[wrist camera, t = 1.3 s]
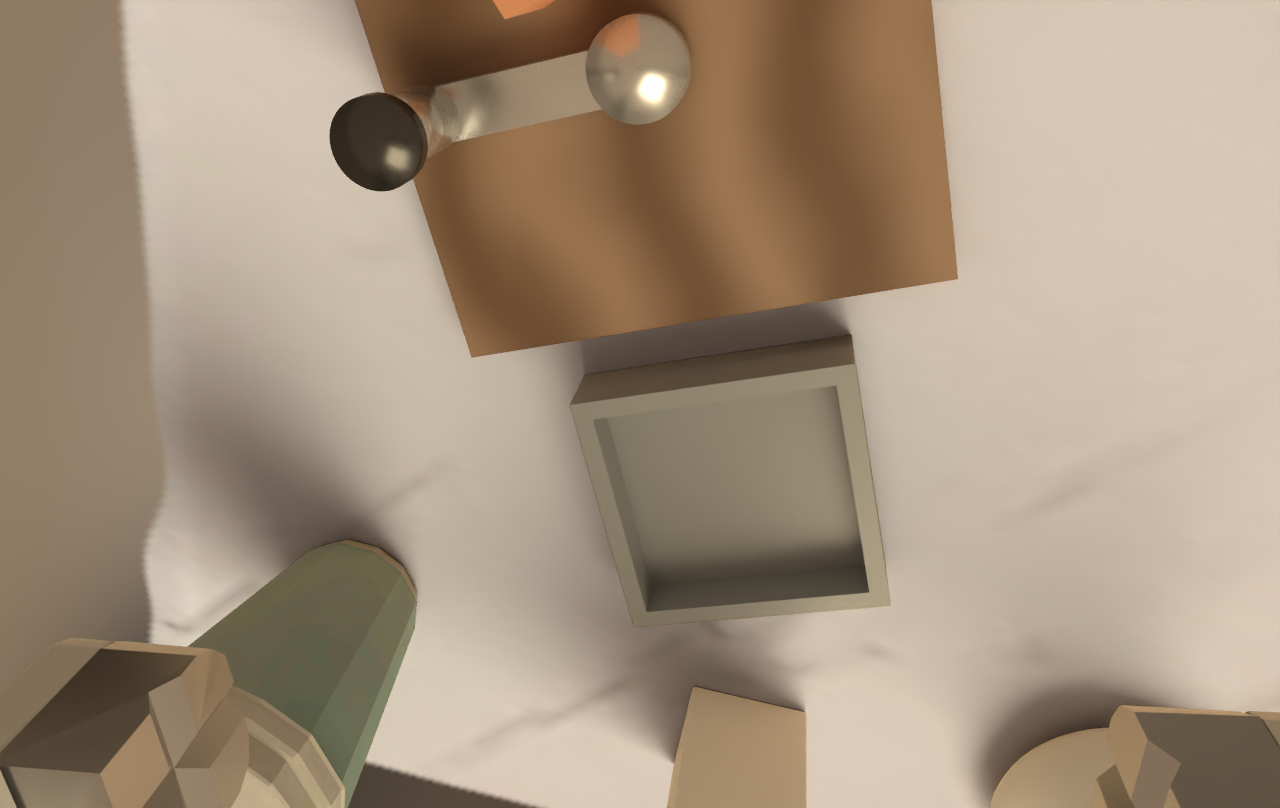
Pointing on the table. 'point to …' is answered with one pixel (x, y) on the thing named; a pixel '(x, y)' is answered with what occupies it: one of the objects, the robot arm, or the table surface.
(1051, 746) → the flower in vase
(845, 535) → the tray
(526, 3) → the orange block
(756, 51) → the plate
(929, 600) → the table surface
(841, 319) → the table surface
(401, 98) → the crank
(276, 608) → the disposable coffee cup
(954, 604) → the table surface
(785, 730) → the milk
